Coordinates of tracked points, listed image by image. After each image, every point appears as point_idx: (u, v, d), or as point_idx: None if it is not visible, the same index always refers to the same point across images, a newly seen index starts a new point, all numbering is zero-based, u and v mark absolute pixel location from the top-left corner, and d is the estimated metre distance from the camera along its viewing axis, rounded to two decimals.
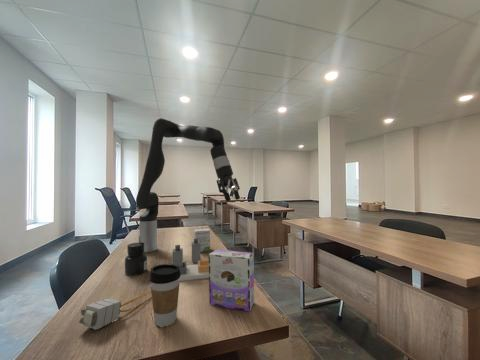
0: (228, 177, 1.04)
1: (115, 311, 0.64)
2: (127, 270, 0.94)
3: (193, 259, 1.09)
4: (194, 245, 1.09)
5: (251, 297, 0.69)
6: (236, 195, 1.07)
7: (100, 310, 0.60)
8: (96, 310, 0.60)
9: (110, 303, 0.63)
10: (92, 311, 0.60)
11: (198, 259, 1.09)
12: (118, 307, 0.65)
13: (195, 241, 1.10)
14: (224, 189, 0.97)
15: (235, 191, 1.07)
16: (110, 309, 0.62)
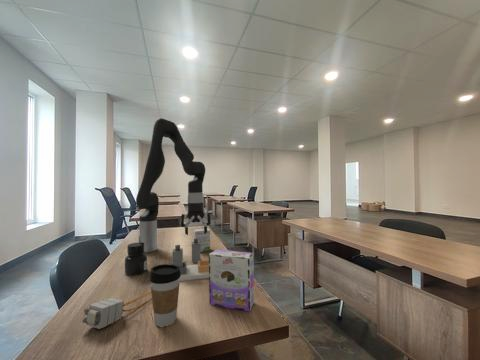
0: (196, 213, 1.10)
1: (118, 310, 0.64)
2: (127, 270, 0.94)
3: (193, 259, 1.09)
4: (194, 245, 1.09)
5: (251, 297, 0.69)
6: (204, 229, 1.12)
7: (103, 309, 0.60)
8: (99, 309, 0.60)
9: (113, 303, 0.64)
10: (95, 310, 0.60)
11: (198, 259, 1.09)
12: (121, 307, 0.65)
13: (195, 241, 1.10)
14: (182, 225, 1.08)
15: (204, 225, 1.12)
16: (113, 308, 0.63)
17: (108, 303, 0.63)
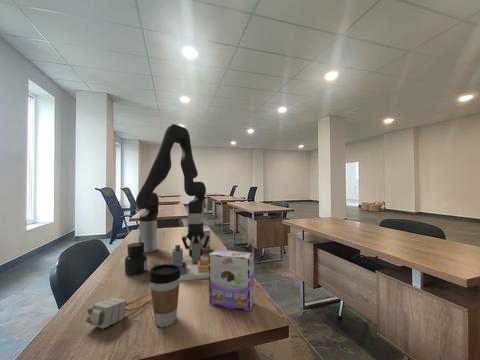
0: (196, 233, 1.10)
1: (121, 310, 0.64)
2: (127, 270, 0.94)
3: (193, 259, 1.09)
4: (194, 245, 1.09)
5: (251, 297, 0.69)
6: None
7: (107, 309, 0.60)
8: (103, 309, 0.60)
9: (116, 302, 0.64)
10: (99, 310, 0.60)
11: (198, 259, 1.09)
12: (124, 306, 0.65)
13: None
14: (186, 247, 1.09)
15: (200, 248, 1.11)
16: (116, 308, 0.63)
17: (111, 303, 0.63)
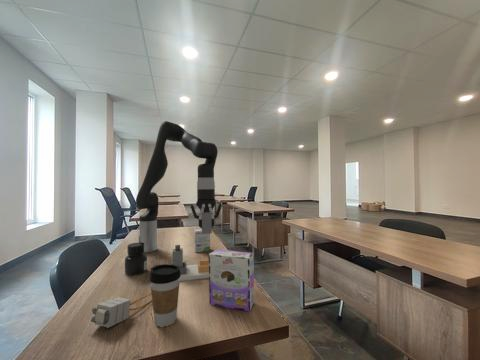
0: (206, 201, 0.96)
1: (125, 309, 0.65)
2: (127, 270, 0.94)
3: (203, 230, 0.95)
4: (205, 214, 0.95)
5: (251, 297, 0.69)
6: None
7: (112, 308, 0.60)
8: (108, 308, 0.60)
9: (120, 301, 0.64)
10: (104, 309, 0.60)
11: (209, 230, 0.96)
12: (128, 305, 0.66)
13: None
14: (195, 217, 0.95)
15: None
16: (121, 307, 0.63)
17: (116, 302, 0.64)
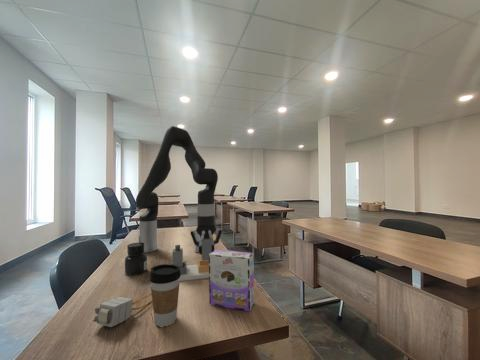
0: (206, 227, 0.96)
1: (128, 309, 0.65)
2: (127, 270, 0.94)
3: (203, 256, 0.95)
4: (205, 240, 0.95)
5: (251, 297, 0.69)
6: None
7: (115, 308, 0.61)
8: (111, 308, 0.60)
9: (123, 301, 0.64)
10: (107, 309, 0.60)
11: None
12: (130, 305, 0.66)
13: None
14: (195, 243, 0.95)
15: None
16: (123, 307, 0.63)
17: (118, 302, 0.64)
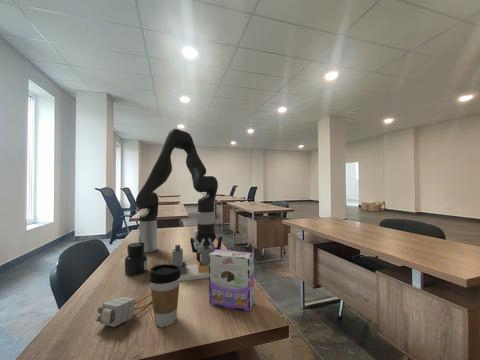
0: (206, 235, 0.96)
1: (130, 308, 0.65)
2: (127, 270, 0.94)
3: None
4: (205, 251, 0.95)
5: (251, 297, 0.69)
6: None
7: (118, 308, 0.61)
8: (114, 308, 0.61)
9: (125, 301, 0.65)
10: (109, 309, 0.61)
11: None
12: (133, 304, 0.66)
13: (206, 246, 0.96)
14: (193, 251, 0.95)
15: None
16: (126, 306, 0.64)
17: (121, 301, 0.64)
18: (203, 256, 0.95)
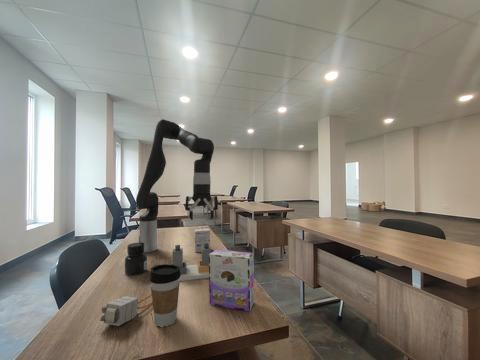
0: (202, 195, 0.99)
1: (134, 308, 0.65)
2: (127, 270, 0.94)
3: None
4: (205, 251, 0.95)
5: (251, 297, 0.69)
6: (210, 214, 1.01)
7: (122, 307, 0.61)
8: (118, 307, 0.61)
9: (129, 300, 0.65)
10: (114, 308, 0.61)
11: None
12: (136, 304, 0.66)
13: (206, 246, 0.96)
14: (186, 208, 0.97)
15: None
16: (130, 306, 0.64)
17: (124, 301, 0.64)
18: (203, 256, 0.95)
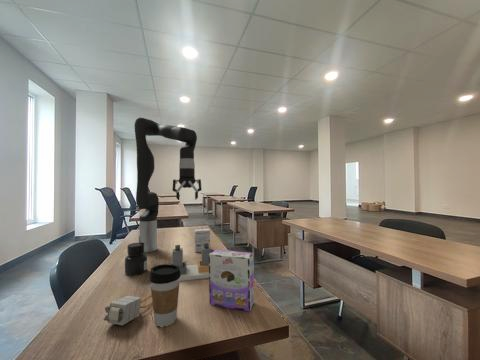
0: (187, 178, 1.13)
1: (137, 307, 0.66)
2: (127, 270, 0.94)
3: None
4: (205, 251, 0.95)
5: (251, 297, 0.69)
6: (195, 195, 1.15)
7: (126, 306, 0.61)
8: (121, 306, 0.61)
9: (132, 299, 0.65)
10: (117, 308, 0.61)
11: None
12: (139, 303, 0.67)
13: (206, 246, 0.96)
14: (173, 190, 1.11)
15: (195, 191, 1.15)
16: (133, 305, 0.64)
17: (127, 300, 0.65)
18: (203, 256, 0.95)
